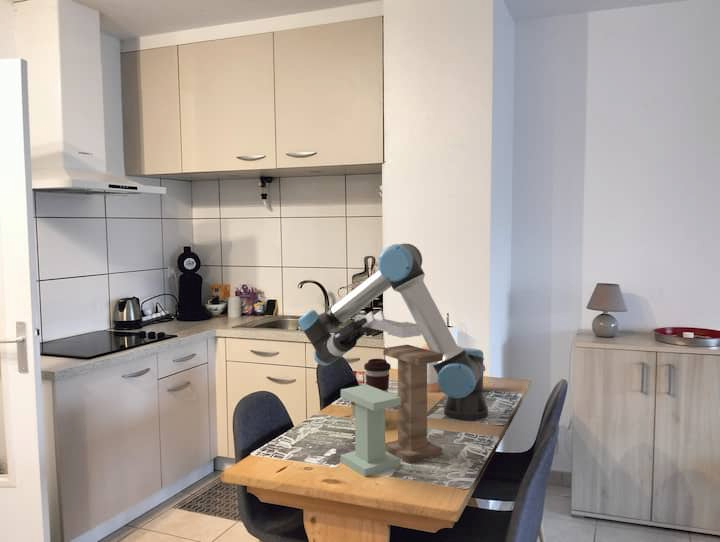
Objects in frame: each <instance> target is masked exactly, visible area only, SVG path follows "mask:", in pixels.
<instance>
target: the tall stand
mask: <svg viewBox="0 0 720 542" xmlns="http://www.w3.org/2000/svg"><path fill="white" fill-rule="evenodd" d="M382 355H383V356H386V357H389V358H393V359H396V360H397V396H398V397H401V405H398V406H397V440H393V441H389V442H385V451H386V452H388V453H390V454H392V455H394V456H396V457H398V458H400V459H401V461H403V462H405V463H407V464H409V465H410V464H412V463H416V462H419V461H423V460H427V459H429V458H434V457H437V456H440V455H442V454H443V453H442V452H443V451H442V450H443V448H442V446H439V445H437V444H434V443H433V442H430V441H428V392H427V364H428V363H433V362H439V361H443V354H442V353H438V352H434V351H430V350H427V349H423V348H422V347H419V346H414V345H410V344H402V345H396V346H387V347H383V353H382Z"/></svg>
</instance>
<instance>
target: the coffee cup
mask: <svg viewBox="0 0 720 542" xmlns="http://www.w3.org/2000/svg"><path fill="white" fill-rule="evenodd" d="M363 366H364V367H363V368H364V370H365V382H366V383H365V385H369V386H372V387H375V388H377V389H380V390H382V391H385V392H388V390H389V385H390V384H389V383H390V382H389V381H390V370H391V364H390V363H388V361H387V360H386V359H384V358H371V359H368V361H367V362H366V363H364V365H363ZM388 393H389V392H388Z"/></svg>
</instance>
